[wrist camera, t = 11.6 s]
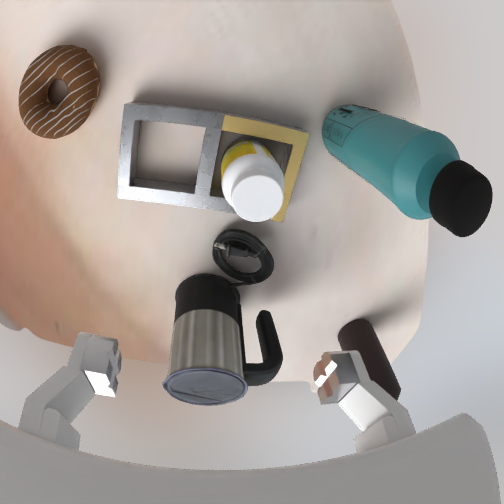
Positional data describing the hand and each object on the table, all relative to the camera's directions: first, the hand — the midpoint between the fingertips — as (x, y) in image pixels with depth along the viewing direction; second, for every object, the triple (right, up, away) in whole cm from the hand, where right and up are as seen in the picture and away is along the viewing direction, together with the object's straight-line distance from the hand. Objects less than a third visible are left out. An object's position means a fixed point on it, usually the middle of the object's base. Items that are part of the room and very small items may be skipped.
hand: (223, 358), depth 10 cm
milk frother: (-3, +1, +28) cm, 28 cm away
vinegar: (+20, -10, +38) cm, 44 cm away
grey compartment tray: (-4, +14, +18) cm, 23 cm away
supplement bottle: (0, +14, +19) cm, 23 cm away
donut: (-19, +22, +11) cm, 31 cm away
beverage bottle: (+11, +18, +18) cm, 27 cm away
